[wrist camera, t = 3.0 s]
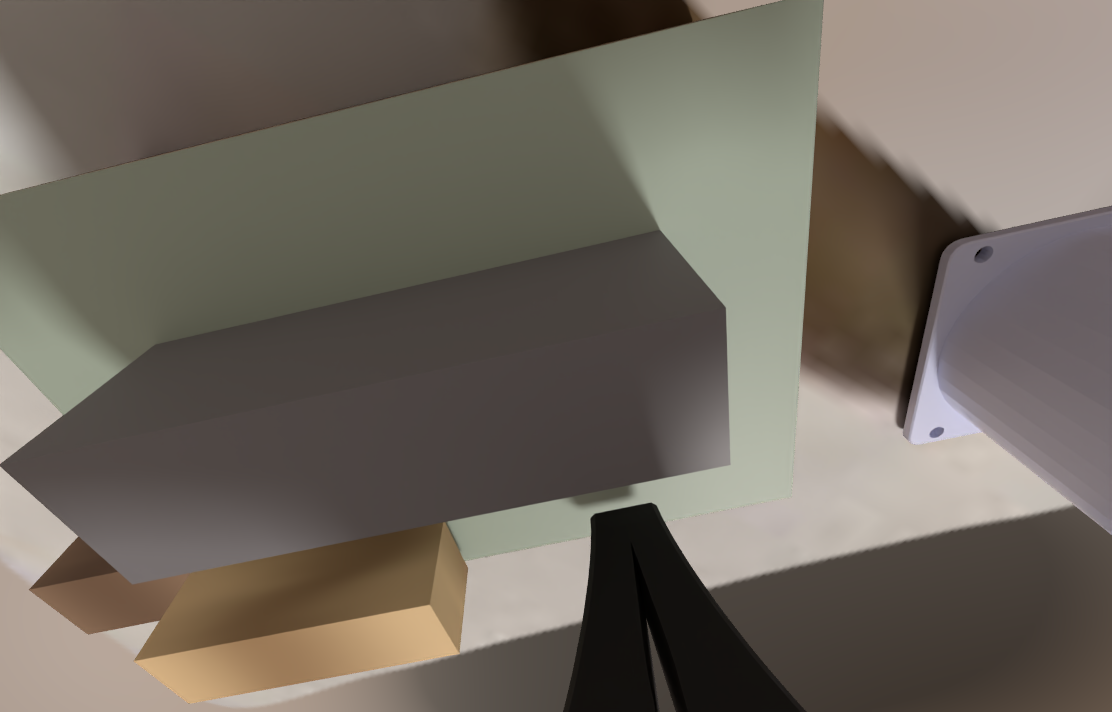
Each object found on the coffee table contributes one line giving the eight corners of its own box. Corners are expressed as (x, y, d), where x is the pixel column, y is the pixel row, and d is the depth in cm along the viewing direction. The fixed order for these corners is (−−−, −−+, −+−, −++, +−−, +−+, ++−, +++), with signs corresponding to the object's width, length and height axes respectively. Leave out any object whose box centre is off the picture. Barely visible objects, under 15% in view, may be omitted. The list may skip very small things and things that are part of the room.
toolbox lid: (755, 6, 8) (1021, -56, 4) (753, 437, 14) (867, 619, 9) (13, 191, 9) (-468, 313, 5) (279, 532, 14) (171, 744, 10)
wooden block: (443, 519, 11) (429, 604, 9) (467, 568, 12) (459, 653, 10) (192, 569, 11) (133, 660, 9) (235, 613, 12) (188, 703, 10)
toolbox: (693, 21, 11) (824, -10, 7) (711, 369, 17) (791, 497, 12) (-20, 199, 12) (-370, 287, 7) (207, 475, 18) (87, 634, 13)
